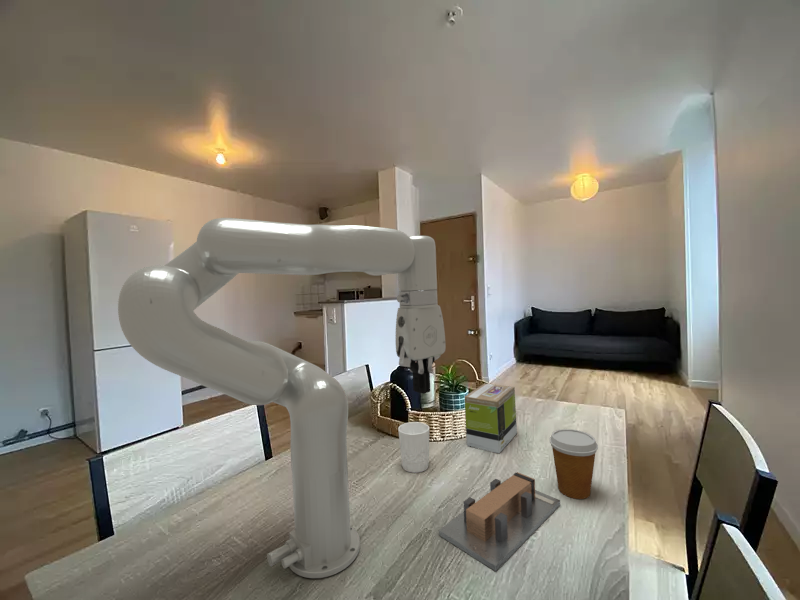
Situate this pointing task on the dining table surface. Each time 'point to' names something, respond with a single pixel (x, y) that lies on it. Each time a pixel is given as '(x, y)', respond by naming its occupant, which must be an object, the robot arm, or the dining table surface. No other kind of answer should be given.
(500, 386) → the tea box
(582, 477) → the disposable coffee cup
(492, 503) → the wooden beam
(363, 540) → the dining table surface
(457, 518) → the plate
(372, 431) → the dining table surface
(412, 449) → the white cup
